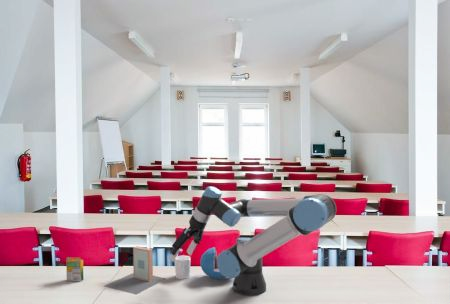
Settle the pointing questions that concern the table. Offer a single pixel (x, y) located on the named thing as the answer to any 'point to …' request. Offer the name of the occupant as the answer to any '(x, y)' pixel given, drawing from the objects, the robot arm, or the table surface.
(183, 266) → the white cup
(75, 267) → the crayon box
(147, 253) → the tile
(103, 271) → the table surface
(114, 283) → the mat
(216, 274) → the educational model
